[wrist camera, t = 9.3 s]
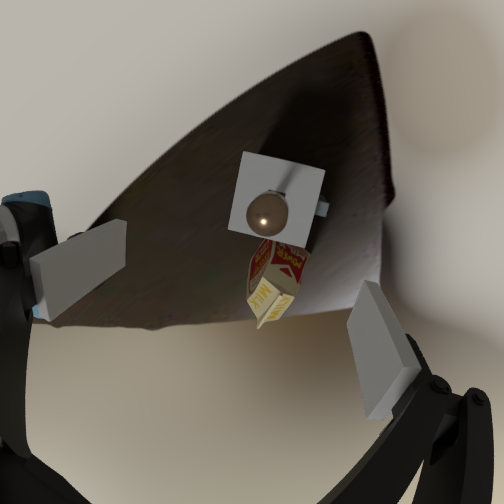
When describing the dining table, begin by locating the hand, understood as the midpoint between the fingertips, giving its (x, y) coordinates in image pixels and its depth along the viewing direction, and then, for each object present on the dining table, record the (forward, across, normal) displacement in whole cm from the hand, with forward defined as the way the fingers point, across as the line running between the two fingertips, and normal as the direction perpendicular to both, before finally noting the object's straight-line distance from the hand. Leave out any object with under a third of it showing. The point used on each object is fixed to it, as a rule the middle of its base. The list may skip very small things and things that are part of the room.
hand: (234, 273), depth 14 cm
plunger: (+37, 0, 0) cm, 37 cm away
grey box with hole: (+39, 0, 0) cm, 39 cm away
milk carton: (+39, +3, -13) cm, 41 cm away
